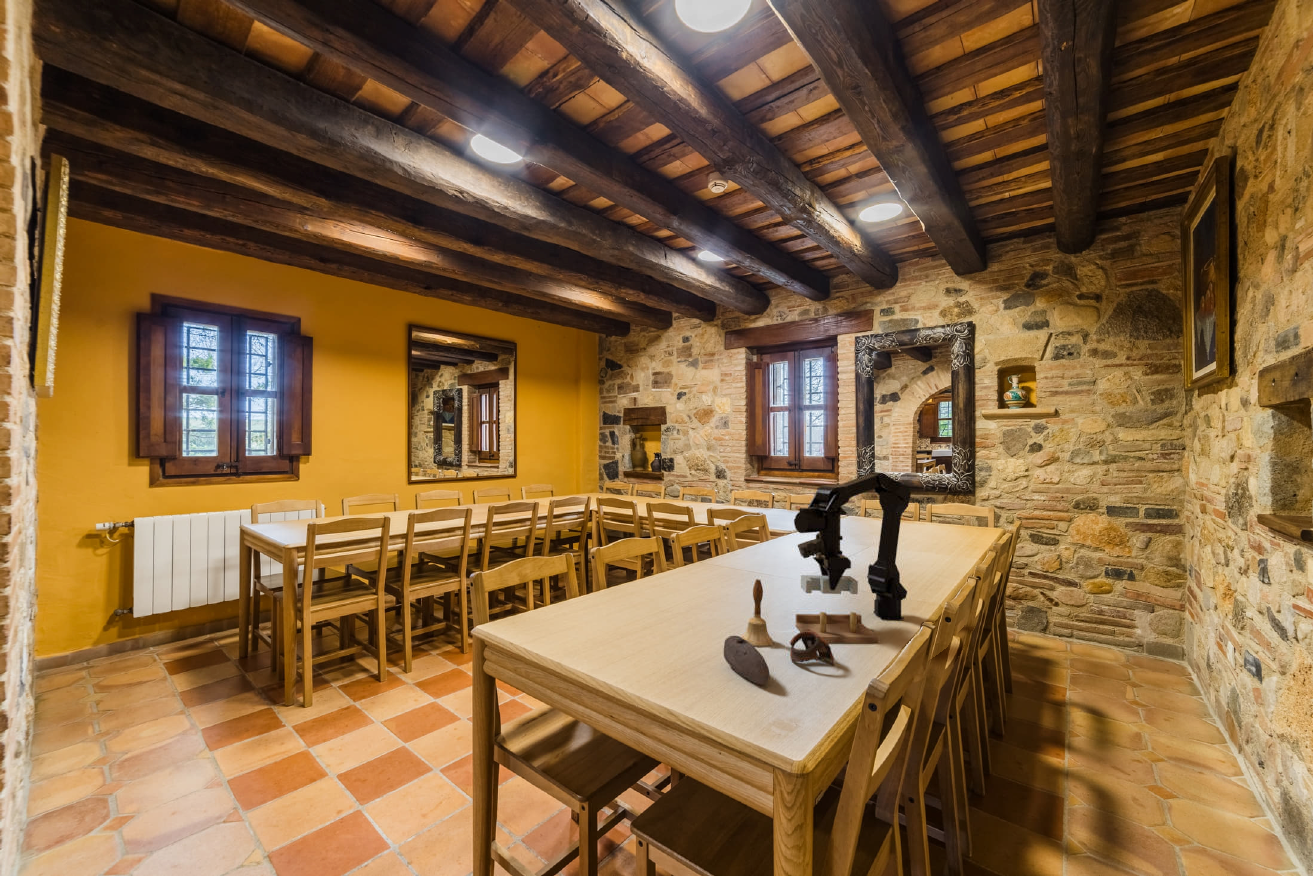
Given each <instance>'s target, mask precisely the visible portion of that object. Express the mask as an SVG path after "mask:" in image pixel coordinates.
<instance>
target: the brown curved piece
mask: <svg viewBox="0 0 1313 876" xmlns="http://www.w3.org/2000/svg"><path fill="white" fill-rule="evenodd" d="M815 638H816V640H815ZM800 640H801V642H802V644H803V645H804V647H805V649H802V650H800V649H796V648H795V645H796V643H798V642H799V641H800ZM789 645H790V646H791V647H790V653H789V654H790V660H791V663H795V662H798V663H804V662H809V661H812V660H813V661H814V660H815V661H816V662H819V659H820V658H822V659H828V660H830V661H831V665H832V666H833V667H835V661H834V659H835V658H834V654H833V652H832V648H831V646H830V644H829V643H828V642H827V641H826V640H825V639H824V638H822V637H821V636H818V634H817V633H816V632H814V631H811V630H809V629H807V630H805V631H803V632H798V633H797V634H795V635H794V636H793V637H792V638H791V640H790V642H789Z"/></svg>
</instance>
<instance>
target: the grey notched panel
mask: <svg viewBox="0 0 1313 876" xmlns="http://www.w3.org/2000/svg"><path fill="white" fill-rule="evenodd" d="M800 588H801V589H802V591H803V592H804V593H806V594H812V592H813V591H814V592H815V591H819V592H820V593H821V594H827V595H829V594H830V595H841V594H842V592H849V593H850V594H852V595H859V589H858V588H859V581H858V580H856V579H855V578H854V577H852V576H851V575H842V577H841V579H840V581H839V583H838V585H837V587H836V589H835V590H830V585H829V578H828V576H822V575H814V574H812V575H809V574H807V575H806V574H800Z"/></svg>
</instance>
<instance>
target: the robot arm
mask: <svg viewBox="0 0 1313 876" xmlns="http://www.w3.org/2000/svg"><path fill="white" fill-rule="evenodd" d="M869 491H873V492H874V493H875V494H876V495H878V499H879V501H878V502H879V505H880V508H881V510H882V520H881V526H880V527H881V528H880V535H879V536H880V537H879V542H878V543H879V545H878V552H877V559H876V560H875V561H874V563H873V564H871V563H870V564H869V565H868V567H867V568H868V570H867V575H866V578H867V583H868V585H869V587H870V590H871V594H875V599H874V601H873V602H874V604H873V605H874V606H873V607H874V608H873V609H874V610H873V614H874V615H875V616H877V617H878V618H880V619H881V620H883V621H884V620H887V621H888V620H889V621H890V620H891V619H893V621H894V619H895V620H897V619H904V620H905V618H904V617H903V615H902V601H903V600H905V599H907V595H908V591H907V589H906V588H905V587H904V586H903V584H902V583H901V582H900V581H901V580H900V579H901V576H900V571H899V569H898V566H897V564H896V562H897V561H896V559H897V552H898V544H899V535H900V528H901V521H902V515H903V513H904V512H905V511H906V510H907V508H908V507H909V503H910V499H911V496H912V494H911V490H910V489H909V487H908V486H907V485H906V484H903V483H902V482H901V481H897V480H896V479H894V478H892V477H889V476H888V475H887V474H886V473H885V472H874V471H872V472H871V471H870V472H868V473H867V474H865V475H862V476H860V477H858V478H857V477H856V478H854V479H852V480H849V481H846V482H843V483H840V484H839V483H837V484H826V485H820V486H818V487H817V488H816V492H815V494H814V496H813V498H812V499H811V501H810V503H809V504H808V506H807V508H806V507H799V509H798V510H799V511H798V513H796V514H795V517H794V518H793V519H794V520H793V525H794V528H795V530H796V531H797V532H798V533H800V534H810V533H816V534H815V538H814V539H811V540H807V541H804V542H802V543H798V544H797V548H798V550H799V554H800V556H801V557H802V558H803V559H807V558H810V557H812V559H813V560H814V561H815V562H816V563H817V564H818V566H819V571H820V574H821V575H820V576H828V578H829V585H830V590H835V589H836V587H837V585H838V583H839V581H840V579H841V577H842V576H844V573H845V572H846V570H849V569H850V570H851V569H852V560H850V558H848V557H847V556H846V555H844V554H843V550H841V541H843V537H844V536H842V535H841V516H847V511H845V509H843V506H844V505H846V504H847V503H848V502H849V501H850V500H851V499H852V498H853V497H856V496H859V495H861V494H864V493H867V492H869Z"/></svg>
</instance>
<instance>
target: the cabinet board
mask: <svg viewBox="0 0 1313 876" xmlns="http://www.w3.org/2000/svg"><path fill="white" fill-rule="evenodd" d="M862 618H863V617H862V615H861V614H859V613H858V614H857V612H853V611H851V612H850V613H849V614H848V613H845V614H843V613H842V614H834V613H833V614H831V613H827V612H824V611H821V612H819V614H818V613H814V614H813V613H796V614H795V628H796V629H797V630H798V631H800V632H803V631H805V630H807V629H809V630H811V631H814V632H816V633H817V634H818V636H821V637H822V638H824V639H825V640H826V641H827V642H828V644H829V643H830V644H831V643H833V644H855V643H856V644H878V643H879V637H878V635H876V634H875V633H874V632H872V630H870V629H869V628H868V627H867V626H865V624H863V623H862ZM800 632H799V633H800ZM815 640H816V638H815Z"/></svg>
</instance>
